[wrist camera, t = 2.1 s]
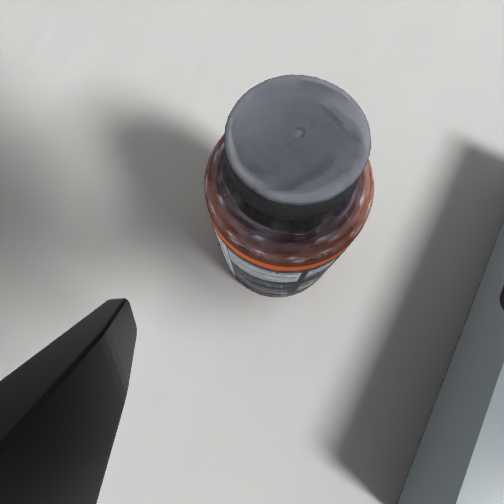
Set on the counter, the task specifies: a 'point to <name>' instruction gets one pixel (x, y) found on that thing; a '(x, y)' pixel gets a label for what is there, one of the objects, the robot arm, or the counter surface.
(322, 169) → the supplement bottle
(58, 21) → the counter surface
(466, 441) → the gray square tray
